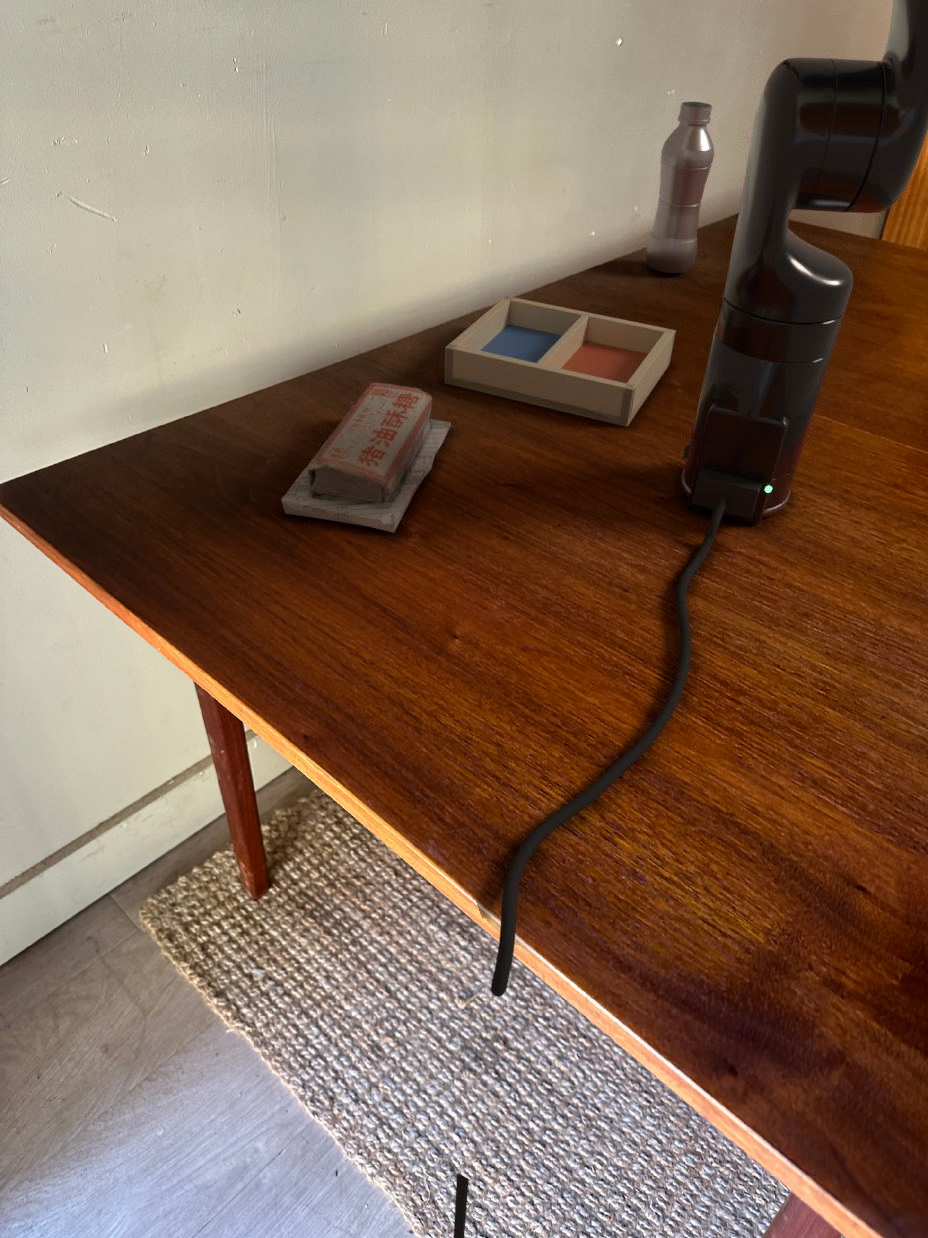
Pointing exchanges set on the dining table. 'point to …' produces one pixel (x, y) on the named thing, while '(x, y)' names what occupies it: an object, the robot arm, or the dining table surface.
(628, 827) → the dining table surface
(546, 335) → the sorting tray
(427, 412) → the packaged product
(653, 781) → the dining table surface
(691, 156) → the plastic bottle
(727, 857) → the dining table surface
